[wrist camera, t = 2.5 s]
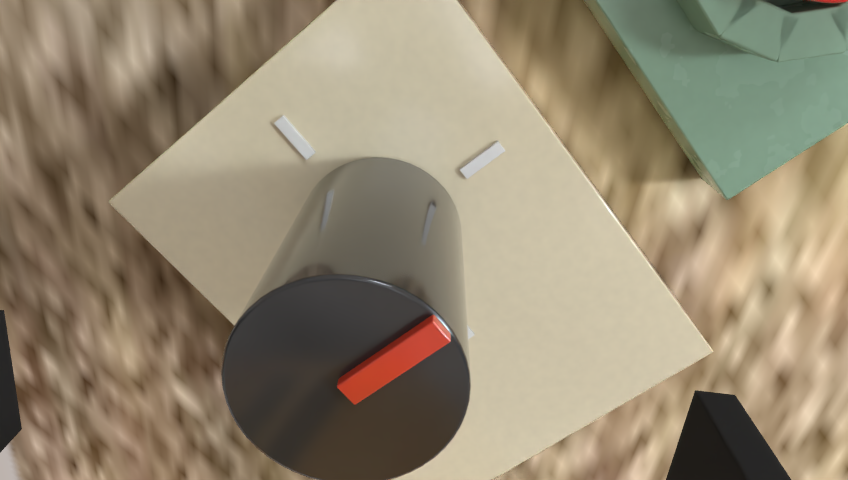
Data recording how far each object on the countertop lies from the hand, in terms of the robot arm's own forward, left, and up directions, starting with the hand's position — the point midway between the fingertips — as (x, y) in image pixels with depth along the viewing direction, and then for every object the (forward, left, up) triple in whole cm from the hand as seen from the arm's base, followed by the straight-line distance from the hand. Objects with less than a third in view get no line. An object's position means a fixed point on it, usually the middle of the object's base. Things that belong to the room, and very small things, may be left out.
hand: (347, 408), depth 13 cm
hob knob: (0, 0, -8) cm, 8 cm away
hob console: (+2, 0, -12) cm, 12 cm away
